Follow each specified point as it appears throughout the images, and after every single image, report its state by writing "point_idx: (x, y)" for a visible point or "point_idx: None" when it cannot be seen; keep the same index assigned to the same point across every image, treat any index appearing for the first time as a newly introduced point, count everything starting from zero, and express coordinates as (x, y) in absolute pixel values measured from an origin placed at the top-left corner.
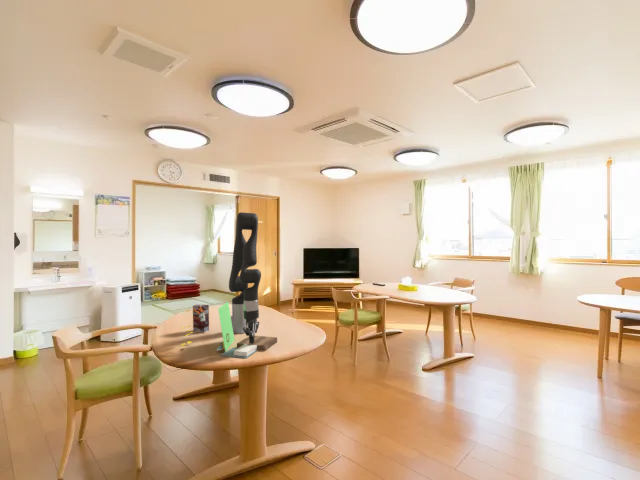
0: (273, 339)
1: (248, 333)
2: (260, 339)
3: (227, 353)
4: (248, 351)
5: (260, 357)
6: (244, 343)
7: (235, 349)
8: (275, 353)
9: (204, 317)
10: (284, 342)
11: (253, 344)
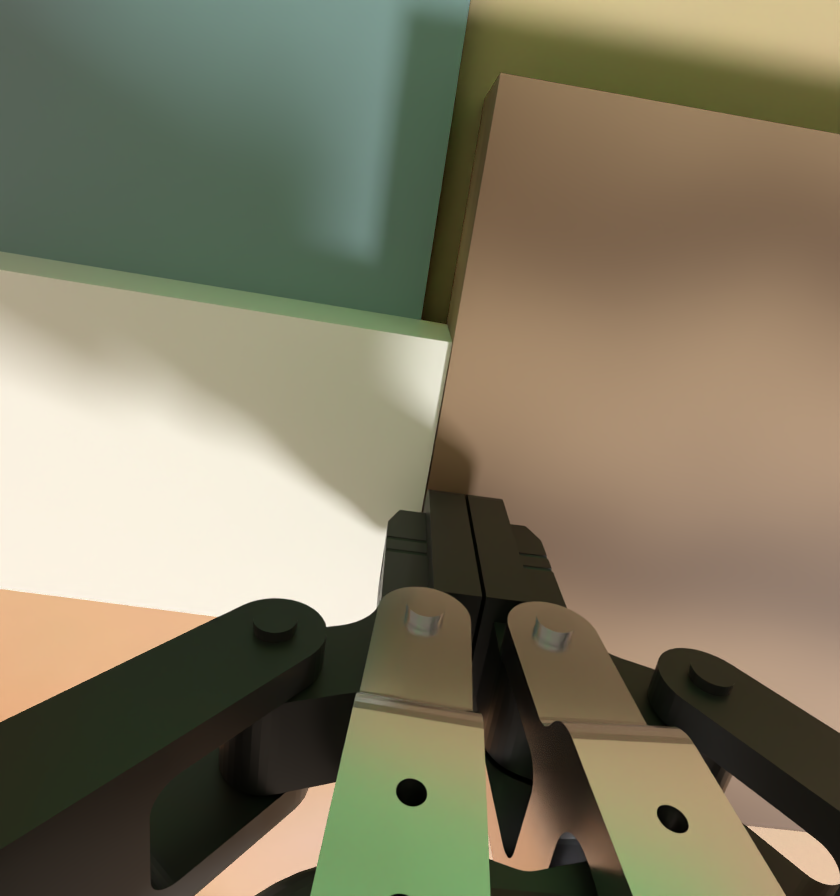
0: (765, 814)
1: (246, 730)
2: (802, 594)
3: (12, 23)
4: (26, 585)
5: None
6: (494, 321)
7: (333, 120)
8: (294, 850)
9: None
10: (796, 851)
11: None
